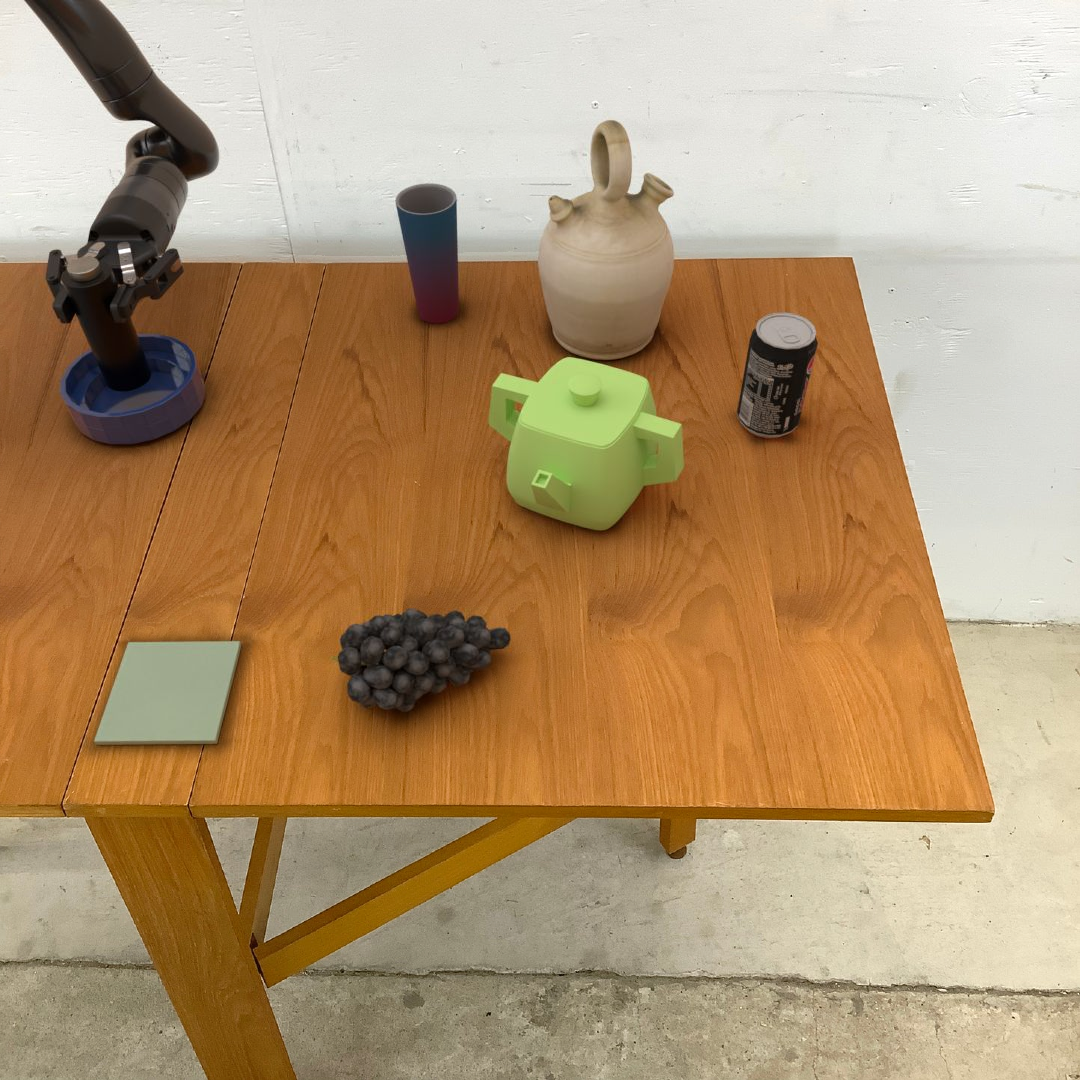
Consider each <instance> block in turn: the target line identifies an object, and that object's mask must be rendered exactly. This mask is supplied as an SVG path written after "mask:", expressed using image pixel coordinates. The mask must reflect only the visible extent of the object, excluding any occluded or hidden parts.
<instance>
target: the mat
mask: <svg viewBox="0 0 1080 1080" xmlns="http://www.w3.org/2000/svg"><path fill="white" fill-rule="evenodd" d="M242 646H243V645H242V641H240V640H224V641H221V640H219V641H218V640H215V641H206V640H205V641H128V642H127V645H126V647H125V650H124V653H123V656H122V660H121V662H120V665H119V667H118V670H117V674H116V676H115V679H114V682H113V684H112V688H111V691H110V694H109V696H108V699H107V702H106V705H105V708H104V710H103V714H102V717H101V720H100V723H99V725H98V729H97V731H96V734H95V737H94V740H93V743H94V744H95V745H96V746H101V745H102V746H103V745H105V746H107V745H108V746H113V745H116V746H117V745H122V746H123V745H127V746H128V745H217V744H218V741H219V737H220V734H221V730H222V725H223V721H224V717H225V714H226V710H227V705H228V702H229V697H230V693H231V689H232V685H233V682H234V677H235V674H236V670H237V666H238V661H239V658H240V654H241V649H242Z"/></svg>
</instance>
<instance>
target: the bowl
mask: <svg viewBox="0 0 1080 1080" xmlns="http://www.w3.org/2000/svg"><path fill="white" fill-rule="evenodd" d="M137 336H138V338H139V341H140V343H141V346H142V349H143V351H144V354H145V356H146V359H147V362H148V364H149V367H150V369H151V373H152V374H151V378H150V380H149V381H148V382H147V383H146V384H145V385H143V386H142V387H140V388H138V389H135V390H132V391H126V392H119V391H114V390H112V389H110V388H109V387H108V386H107V385H106V382H105V380H104V378H103V375H102V373H101V371H100V368H99V366H98V364H97V362H96V359H95V357H94V355H93V352H92V350H91V348H89V349H87V350H86V351H84V352H83V353H81V354H79V355H78V356H77V357H76V358H74V360H73V361H72V362H71V363H69V365H68V366H67V367H66V369H65V371H64V372H63V374H62V376H61V378H60V380H59V395H60V397H61V400H62V401H63V403H64V405H65V407H66V409H67V411H68V413H69V414H70V417H71V419H72V421H73V423H74V424H75V426H76V428H77V429H78V431H79V432H80V433H81V434H82V435H84V436H86V437H87V438H89V439H91V440H92V441H96V442H98V443H99V442H100V443H104V444H109V445H135V444H139V443H143V442H148V441H154V440H156V439H158V438H160V437H163V436H166V435H168V434H170V433H173V432H175V431H176V430H178V429H179V428H180V427H182V426H184V425H185V424H186V423H188V422H189V421H190V420H191V419H192V418H193V417H194V416H195V414H196V413H198V411H199V410H200V409H201V408H202V406H203V402H204V400H205V397H206V394H207V393H206V385H205V381H204V377H203V374H202V372H201V369H200V365H199V363H198V360H197V357H196V354H195V353H194V352H193V350H192V349H191V348H190V346H189V345H188V344H187V343H185V342H183V341H181V340H180V339H177V338H176V337H173V336H169V335H164V334H159V333H137Z"/></svg>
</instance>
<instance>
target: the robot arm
mask: <svg viewBox="0 0 1080 1080" xmlns="http://www.w3.org/2000/svg"><path fill="white" fill-rule="evenodd" d="M23 1H24V2H25V4H26V5H27V6H28V7H29V8H30V9H31V11H32V12H33V13H34V15H35V16H36V17H37V18H38V19H39V20H40V22H41V23H42V24H43V25H44V27H45V28H46V29H47V30H48V32H49V33H50V34H51V35H52V37H53V38H54V39H55V41H56V42H57V43H58V45H59V46H60V47H61V48H62V50H63V51H64V53H65V54H66V55H67V57H68V58H69V59H70V61H71V62H72V64H73V65H74V66H75V68H76V69H77V71H78V72H79V73H80V75H81V77H82V78H83V79H84V80H85V82H86V83H87V85H88V86H89V88H90V89H91V90H92V92H93V93H94V94H95V95H96V97H97V98H98V100H99V101H100V102H101V104H102V105H103V107H104V108H105V110H106V111H107V112H108V113H109V114H110V115H111V116H112V117H113V118H115V119H116V120H117V121H122V122H134V121H135V122H136V121H137V122H138V121H140V122H141V121H144V122H149V123H151V124H153V126H150V127H147V128H145V129H142V130H140V131H138V132H136V133H135V134H134V135H133V136H131V137H130V138H129V140H128V141H127V143H126V145H125V161H124V162H125V164H124V166H125V167H124V170H125V171H124V173H123V175H122V177H121V178H120V181H119V182H118V184H117V185H116V186H115V187H114V188H113V189H112V190H111V192H110V193H109V194H108V196H107V198H106V199H105V201H104V203H103V204H102V206H101V208H100V210H99V212H98V213H97V215H96V217H95V218H94V220H93V222H92V224H91V226H90V228H89V232H88V237H87V242H86V244H85V245H83V246H82V247H80V248H79V249H78V250H77V253H75V254H68V255H64V254H63V252H62V250H61V249H58V248H57V249H53V250H50V252H49V253H48V258H47V264H46V265H47V266H46V272H45V278H44V279H45V282H46V284H47V286H48V288H49V290H50V292H51V294H52V297H53V299H54V300H53V301H52V304H51V305H52V306H51V307H52V309H53V311H54V314H55V316H56V318H57V319H58V320H59V322H60V323H61V324H64V325H65V324H66V325H67V324H71V323H72V321H73V320H74V318H75V316H76V313H75V311H74V309H73V306H72V304H71V302H70V300H69V297H68V295H67V293H66V290H65V288H64V286H63V283H62V281H61V276H62V274H63V272H64V271H65V270H66V269H67V266H68V264H69V263H70V262H71V261H73V260H75V259H77V258H81V257H94V258H96V259H97V260H98V261H103V262H105V263H107V264H109V265H110V266H111V268H112V271H113V274H114V276H115V279H116V281H117V284H118V287H119V288H118V290H117V292H116V294H115V296H114V298H113V300H112V302H111V304H110V310H111V313H112V315H113V318H114V320H115V322H116V323H124V322H125V320H126V318H129V317H130V318H131V317H132V316H133V314H134V312H135V310H136V308H137V305H138V304H140V303H142V302H143V301H144V299H145V298H150V300H152V301H157V300H160V299H161V298H162V297H163V296H164V295H165V294H166V293H167V292H168V290H170V288H171V287H172V286H173V284H175V282H176V281H177V280H178V279H179V278H180V277H181V275H182V274H183V273H184V272H185V269H184V266H183V263H182V259H181V256H180V254H179V251H178V249H177V248H174V247H173V248H169V249H168V247H169V244H170V243H171V240H172V238H173V236H174V234H175V231H176V228H177V224H178V221H179V220H178V219H179V217H180V215H181V213H182V211H183V209H184V206H185V204H186V202H187V199H188V195H189V184H188V183H189V182H193V181H195V180H198V179H201V178H204V177H206V176H207V177H208V176H209V175H211V174H212V173H214V172H215V171H216V170H217V168H218V166H219V162H220V149H219V145H218V141H217V139H216V137H215V135H214V134H213V131H211V129H210V127H209V126H208V125H207V124H206V122H205V121H204V120H203V119H202V118H201V117H200V116H199V115H198V114H197V113H196V112H195V111H194V110H193V109H191V107H190V106H188V105H187V104H186V103H185V102H184V101H182V99H181V98H180V97H179V96H177V94H175V92H173V91H172V89H170V88H169V86H167V85H166V83H164V82H163V81H162V80H161V79H160V77H159V76H158V75H157V73H156V72H155V71H154V69H153V67H152V66H151V65H150V63H149V61H148V60H147V58H146V57H145V55H144V54H143V52H142V51H141V49H140V47H139V46H138V45H137V43H136V41H135V40H134V39H133V37H132V35H131V34H130V33H129V32H128V30H127V29H126V27H125V26H124V25H123V24H122V22H121V21H120V20H119V19H118V17H117V16H115V14H113V13H114V12H112V11H111V10H110V9H109V8H108V7H107V6H106V4H105V3H103V2H102V1H101V0H23Z"/></svg>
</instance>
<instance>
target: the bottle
mask: <svg viewBox="0 0 1080 1080" xmlns="http://www.w3.org/2000/svg"><path fill="white" fill-rule="evenodd" d="M61 281H62V283H63V286H64V288H65V290H66V293H67V295H68V297H69V300H70V302H71V304H72V306H73V309H74V311H75V313H76V314H75V316H76V318H77V320H78V322H79V325H80V327H81V329H82V332H83V334H84V336H85V338H86V340H87V343H88V346H89V349H91V350H92V352H93V355H94V357H95V359H96V362H97V364H98V366H99V368H100V371H101V373H102V375H103V378H104V380H105V382H106V385H107V386H108V387H109V388H110V389H112V390H114V391H119V392H126V391H132V390H135V389H138V388H140V387H142V386H143V385H145V384H146V383H147V382H148V381H149V380H150V378H151V374H152V373H151V369H150V367H149V364H148V362H147V359H146V356H145V354H144V351H143V349H142V346H141V343H140V341H139V338H138V336H137V334H138V333H137V331H136V328H135V325H134V323H133V321H132V318H131V317H129V318H126V320H125V322H124V323H116V322H115V320H114V318H113V315H112V313H111V310H110V304H111V302H112V300H113V298H114V296H115V294H116V292H117V290H118V288H119V285H118V284H117V281H116V279H115V276H114V274H113V271H112V268H111V266H110V265H109V264H107V263H105V262H103V261H98V260H97V259H96V258H94V257H81V258H77V259H75V260H73V261H71V262H70V263H69V264H68V266H67V269H66V270H65V271H64V272H63V274H62V276H61Z"/></svg>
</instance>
